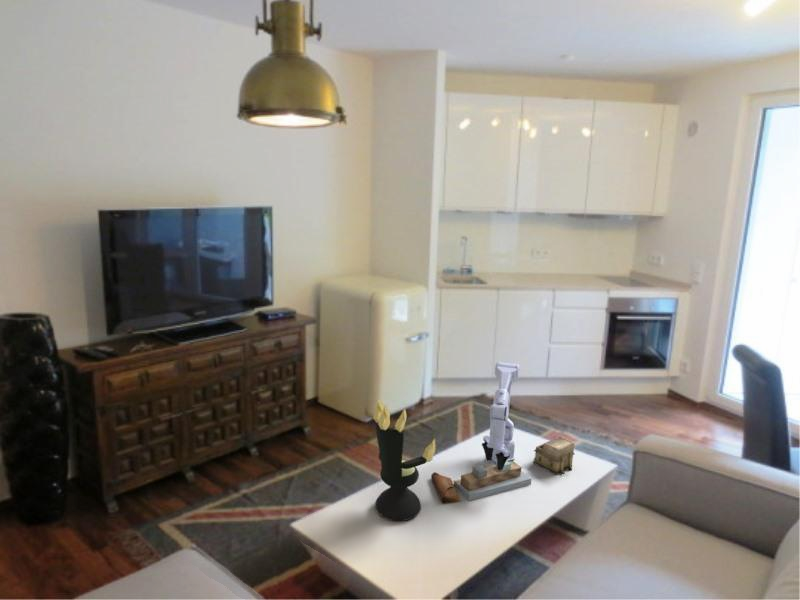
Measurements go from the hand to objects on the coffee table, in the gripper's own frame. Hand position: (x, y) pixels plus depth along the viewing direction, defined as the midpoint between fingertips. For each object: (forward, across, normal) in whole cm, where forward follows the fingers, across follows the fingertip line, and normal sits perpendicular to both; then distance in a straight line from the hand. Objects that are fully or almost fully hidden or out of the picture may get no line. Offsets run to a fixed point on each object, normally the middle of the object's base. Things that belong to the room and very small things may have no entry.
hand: (494, 464), depth 221 cm
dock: (+9, 0, 0) cm, 9 cm away
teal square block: (+2, 0, +5) cm, 5 cm away
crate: (+2, 0, -7) cm, 8 cm away
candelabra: (+9, +1, -44) cm, 45 cm away
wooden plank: (+6, 0, -1) cm, 7 cm away
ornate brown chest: (+9, -3, +35) cm, 37 cm away
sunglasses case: (+10, -4, -19) cm, 22 cm away
